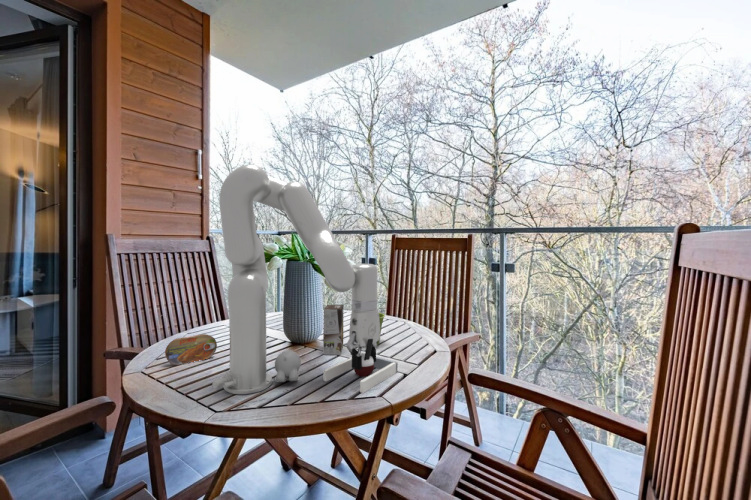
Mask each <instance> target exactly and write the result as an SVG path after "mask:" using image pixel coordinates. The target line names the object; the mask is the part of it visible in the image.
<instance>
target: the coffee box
mask: <svg viewBox="0 0 751 500" xmlns="http://www.w3.org/2000/svg"><path fill="white" fill-rule="evenodd" d="M322 331H323V335H322V337H323V338H322V339H323V341H322V344H323V345H322V346H323V348H322V349H323V350H322V355H326V356H327V355H330V356H331V355H332V356H334V355H336V356H339V355H341V354H342V351H343V350H344V349H343V348H344V304H327V305H326V306H325V307H324V309H323V330H322Z"/></svg>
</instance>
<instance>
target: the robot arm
mask: <svg viewBox="0 0 751 500" xmlns="http://www.w3.org/2000/svg"><path fill="white" fill-rule="evenodd" d="M218 198H219V199H218V201H219V203H218V204H219V210H220V211H219V212H220V219H221V230H222V231H221V232H222V236H223V237H222V238H223V247H224V254H225V256H226V259H227V260H228V261H229V262H230V263H231V267H232V273H233V277H232V279H231V281H230V282H229V285H228V287H227V302H228V319H229V321H228V322H229V323H228V326H229V370H228V371H226V372H225V375H224V376H223V378H219V379H216V380H213V382H212V385H211V386H212V387H213V389H218V388H219V389H220V387H223V389H224V391H225V392H227V393H229V394H233V395H248V394H254V393H257V392H261V391H263V390H266V389H268V387H270V386H271V385H272V384H273V377H272V376H271V375H270V374H269V373H267V291H268V286H269V280H268V273H267V272H268V271H267V264H266V257H265V251H264V245H263V242H262V240H261V238H259V236H258V233H257V232H258V231H257V226H256V218H255V217H256V216H255V212H254V202H256V203H259V204H262V205H265V206H268V207H271V208H273V209H276V210H279V211H283V212H285V213H286V216H287V217H288V218H289V220H290V222H291V225H292V226H293V227H294V229H295V231H296V233H297V235H298V237H299V239H300V240H301V242H302V243H303V246H305V248H306V249H307V250H308V251H309V253H310V254H311V256H312V257H313V258H314V260H315V262H316V263H317V265H318V268H320V270H321V273H322V274H323V275H324V278H325V281H326V283H327V285H328V286H330V287H329V288H331V289H332V290H333V291H335V292H337V293H345V292H348V291H350V290H351V313H350V319H349V329H348V330H349V331H348V333H349V334H348V335H349V337H348V338H349V339H348V341H347V343H346V344H345V346H346V349H347V350H348V352H349V353H350V356H351V358H352V369H353V370H354V369H358V370H361V369H362V356H360V354H361V353H362V349H363V348H366V347H367V342H368V339H373V343H372V348H371V353H370V356H372V358H373V360H374V361H373V362H376V357H377V349H378V345H377V343H378V341H379V339H380V340H381V334H380V320H379V313H380V312H379V309H378V268H377V265H375V264H373V263H356V264H353V263H351V264H350V262H349V260H348V259H347V257H346V255H345V253H344V251H343V250H342V247H341V246H340V245H339V243H338V242H337V240H336V238H335V236H334V233H333V232H332V231H331V228H330V227H329V225H328V223H327V222H326V219H325V218H324V216H323V214H322V212H321V211H320V209H319V207H318V206H317V203H316V202H315V200H314V198H313V196H312V194H311V193H310V190H309V189H308V188H307V187H306V185H304V184H303V183H302V182H299V181H289V182H285V181H282V180H279V179H276V178H275V177H271V176H269V175H268V174H267V172H266V171H265V170H264V169H263V168H262V167H260V166H259V165H256V164H251V163H250V164H245V165H241V166H239V167H237V168H235V169H234V170H233V171H230V173H229V174H227V176H226V178H225V179H224V181H223V182H222V185H221V187H220V192H219V197H218ZM379 342H380V341H379ZM356 348H357V349H356Z"/></svg>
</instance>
